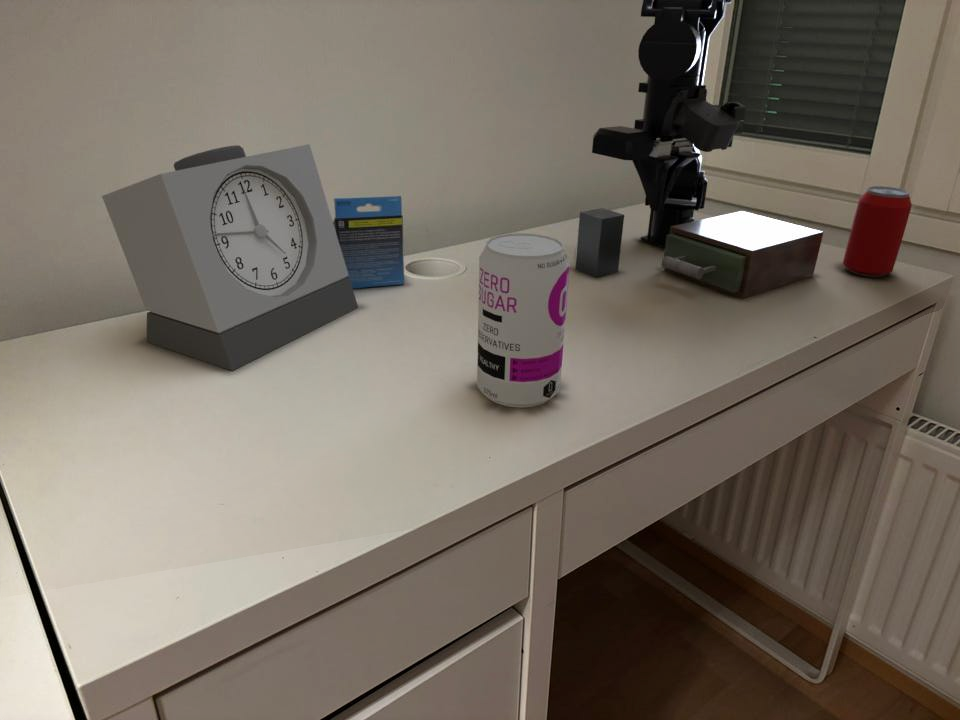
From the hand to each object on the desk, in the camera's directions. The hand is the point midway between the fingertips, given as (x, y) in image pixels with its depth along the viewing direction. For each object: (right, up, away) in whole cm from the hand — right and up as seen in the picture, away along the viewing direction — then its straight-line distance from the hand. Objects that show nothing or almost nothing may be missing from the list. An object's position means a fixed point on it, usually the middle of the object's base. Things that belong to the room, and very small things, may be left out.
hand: (655, 210), depth 87 cm
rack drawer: (+13, -6, +13) cm, 19 cm away
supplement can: (-18, -22, -17) cm, 33 cm away
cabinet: (+16, -6, +16) cm, 23 cm away
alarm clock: (-49, -14, -3) cm, 51 cm away
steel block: (-5, -6, +16) cm, 17 cm away
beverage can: (+36, -6, +18) cm, 40 cm away
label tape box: (-37, -8, +9) cm, 39 cm away
